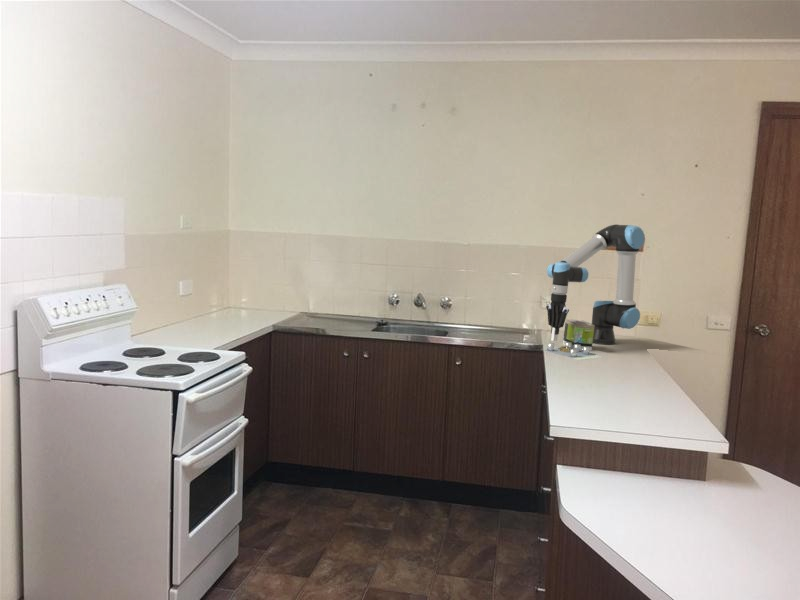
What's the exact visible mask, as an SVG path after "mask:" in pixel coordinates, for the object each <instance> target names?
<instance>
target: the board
mask: <svg viewBox="0 0 800 600" xmlns="http://www.w3.org/2000/svg"><path fill="white" fill-rule="evenodd" d="M543 352H547V353H552V354H556V355H559V356H563V357H567V358H570V359H574V360H577V361H581V360H590V359H598V358H602V356H601V355H598V354H597V355H596V354H593V353H590V352H589V355H585V354H582V353H583V350H580V352H577V357H570V352H561V351H560V348H554V351H547V349H544V350H543Z"/></svg>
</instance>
